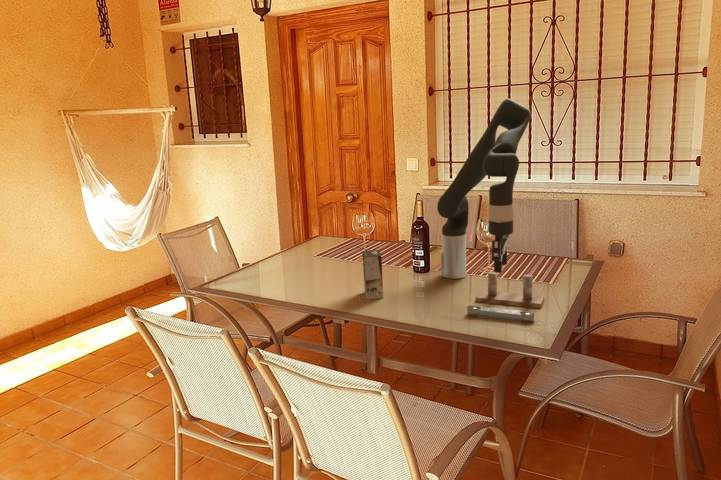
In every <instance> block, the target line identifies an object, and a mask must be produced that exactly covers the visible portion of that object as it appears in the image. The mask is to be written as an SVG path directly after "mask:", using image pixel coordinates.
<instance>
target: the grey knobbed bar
mask: <svg viewBox="0 0 721 480" xmlns="http://www.w3.org/2000/svg"><path fill="white" fill-rule="evenodd" d="M466 315H467V316H468V317H470V318H480V319H481V318H482V319H490V320H499V321H501V320H502V321H508V322H509V321H510V322H518V323H522V324H532V323H534V322H535V313H534V312H533V311H531V310H516V309H507V308H497V307H488V306H480V305H473V304H472V305H468V306H467V307H466Z"/></svg>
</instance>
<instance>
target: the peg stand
mask: <svg viewBox="0 0 721 480" xmlns="http://www.w3.org/2000/svg"><path fill="white" fill-rule="evenodd" d="M487 274H488V275H487V290H485V289H484V290H483V289H480V290H479V292H478V293H477V295H476V296H475V302H477V303H488V304H495V305H496V304H498V305H508V306H517V307H524V308H525V307H527V308H535V309H542V306H543V304H544V301H545V295H538V294H533V280H534V279H533V275H531V274H524V275H523V276H522V277H523V278H522V279H523V280H522V281H523V283H522V286H523V287H522V293H516V292H508V291H507V292H505V291H504V292H503V291H498V273H496V272H494V271H489V272H487Z"/></svg>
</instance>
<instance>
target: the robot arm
mask: <svg viewBox="0 0 721 480" xmlns="http://www.w3.org/2000/svg"><path fill="white" fill-rule="evenodd" d="M531 116H532V112H531V110H530V109H529V108H527V107H526V106H524V105H522V104H520V103H519V102H517V101H516V100H513V99H511V98H505V99H504V100H502V102H501V103H500V105H499V106H498V107H497V110H496V111H495V113H494V115H493V116H492V118H491V120H490V122H489V124H488V125H487V128H486V129H485V131H484V133H483V134H482V135H481V137H480V139H479V140H478V142H477V144H476V145H475V146H474V148H473V149H472V150H471V152H470V153H469V155H468V156H467V158H466V160H465V161H464V163H463V165H462V167H461V168H460V170H459V171H458V173H457V175H456V176H455V178H454V180H452V182H451V184H450V185H449V186H448V188H447V189H446V190H445V191H444V193H443V194H442V195H440V198H439V199H438V202H437V205H436V208H437V213H438V214H439V216H440V217H442V218H443V219H444V218H445V219H447V220H446V222H445V223H444V224H443V226H442V227H441V242H442V243H441V244H442V249H441V251H442V252H441V253H440V277H441V278H442V277H443V278H446V279H451V280H457V279H464V278H465V277H467V228H468V225H469V200H468V198H467V195H468V193H470V191H472V190H473V189H474V188H475V187H476V186H477V185H478V184H480V183H481V182H483V180H484V179H485V178H486V176H488V177H490V178H491V177H492V178H493V177H495V178H496V177H498V178H499V177H502V178H503V177H504V178H505V177H506V178H505V181H504V182H500V183H495V184H493V185H490V187H489V189H488V190H489V191H488V195H489V196H488V197H489V198H488V199H489V200H488V214H487V215H488V222H487V223H488V229H487V230H488V233H489V235H494V236H495V237H494V239H493V241H492V242H491V248H492V249H491V261H493V272H496V273H497V274H501V273H502V270H503V266H507V264H508V253H509V250H510V235H512V234H513V233H514V205H513V202H514V201H513V199H514V198H513V195H514V184H515V180H516V176H517V174H518V171H519V167H520V160H519V157H518V156H517V150H518V147H519V143H520V141H521V139H522V137H523V135H524V133H525V132H526V129H527V127H528V125H529V123H530V119H531ZM499 126H501V127H503V128H505V129H506V130H504V131H503V132H501V133H500V134H499V135H498V136H497V131H498V128H499ZM497 255H498V256H497Z"/></svg>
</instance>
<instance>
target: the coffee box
mask: <svg viewBox="0 0 721 480" xmlns="http://www.w3.org/2000/svg"><path fill="white" fill-rule="evenodd" d="M382 258H383V257H382V255H381V252H380V249H369V250H368V249H367V250H363V251H362V266H363V270H362V271H363V284H364V295H365V298H366V300H378V299H383V298H384V286H383V285H384V283H383V264H382V263H383V262H382Z"/></svg>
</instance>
